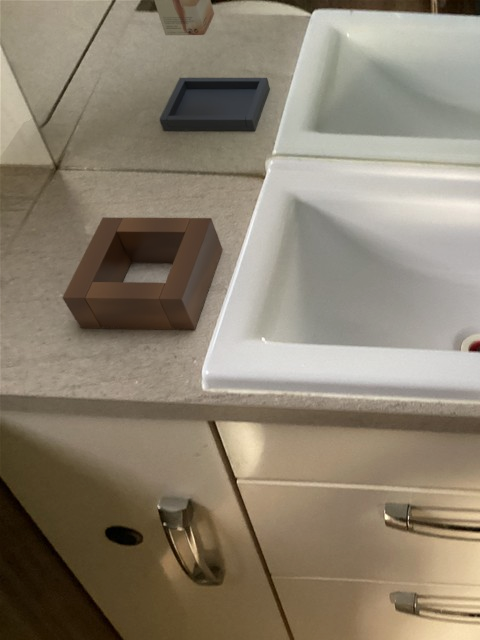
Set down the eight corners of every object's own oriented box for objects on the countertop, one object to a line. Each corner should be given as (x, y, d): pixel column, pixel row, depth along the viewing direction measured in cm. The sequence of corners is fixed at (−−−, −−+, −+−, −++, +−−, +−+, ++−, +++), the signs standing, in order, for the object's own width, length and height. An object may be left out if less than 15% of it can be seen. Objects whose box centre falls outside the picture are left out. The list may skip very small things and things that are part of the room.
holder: (80, 328, 71) (61, 297, 68) (117, 248, 78) (102, 217, 75) (195, 329, 71) (181, 299, 68) (222, 249, 77) (211, 217, 74)
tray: (163, 130, 90) (159, 119, 89) (183, 88, 96) (179, 77, 94) (255, 131, 90) (251, 119, 89) (270, 88, 95) (267, 77, 94)
